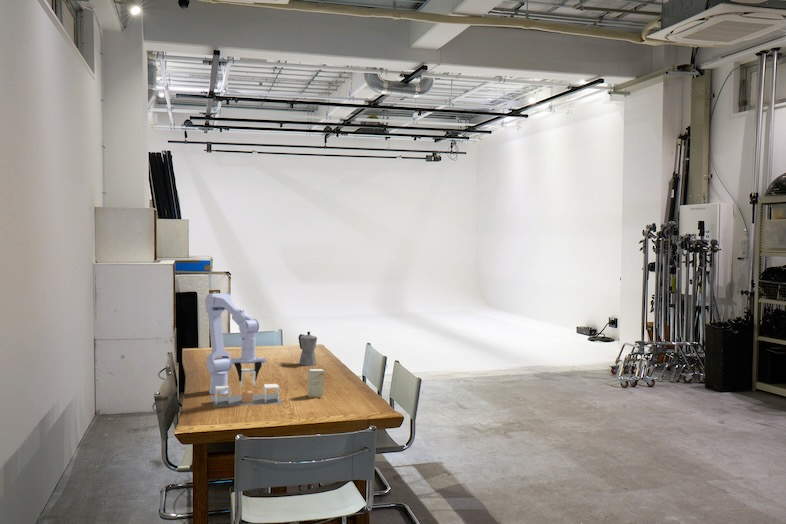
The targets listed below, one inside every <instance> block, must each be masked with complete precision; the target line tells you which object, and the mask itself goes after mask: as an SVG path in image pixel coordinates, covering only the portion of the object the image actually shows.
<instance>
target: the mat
mask: <svg viewBox="0 0 786 524" xmlns="http://www.w3.org/2000/svg"><path fill="white" fill-rule="evenodd" d="M263 395H264V393H260V394H259V393H258V394H253V402H250V403H243V402H242V394H241V395H240V394H239V395H237V394H236V395H230V404H229V402H228V395H219V396H218V395H217V405H216V403H215V395H214V396H213V395H212V396H210V400H211V403H212V407H213V408H218V407H220V408H221V407H222V408H223V407H237V406H256V405H257V406H259V405H277V404H281V405H282V404H283V401H282V400H281V399H280V397H279V402H278V401H277V400H276V393H267V399H266V402H265V401H264V399H263Z"/></svg>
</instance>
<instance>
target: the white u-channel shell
mask: <svg viewBox="0 0 786 524" xmlns="http://www.w3.org/2000/svg"><path fill="white" fill-rule="evenodd" d="M251 373H252V385H253V387H256V381H255V377H256V371H255V368H241V381H239V384H240V387H241V388H243V386H244V385H243V381H244V374H251Z"/></svg>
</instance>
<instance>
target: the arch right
mask: <svg viewBox="0 0 786 524" xmlns="http://www.w3.org/2000/svg"><path fill="white" fill-rule="evenodd" d="M269 389H275V394H276V400H277V401H278V402H279V398H280V385H278V384H277V383H265V384H263V394H264V395H263V399H264V401H265V402H266V399H267V394H268V393H267V392H268V391H267V390H269Z"/></svg>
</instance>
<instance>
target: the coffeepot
mask: <svg viewBox="0 0 786 524" xmlns="http://www.w3.org/2000/svg"><path fill="white" fill-rule="evenodd" d="M306 332H307V334H302V333H301V334H299V335H298V343H299V344H298V345H299V349H300V350H301V353H300V359H299V365H300V366H303V365H305V366H306V367H310V365H313V366H316V365H317V360H316V359H317V358H316V353H315V349H316V347H317V346H316V345H317V340H318V337H317V336H315V335H311V331H306ZM315 364H316V365H315ZM305 366H304V367H305Z"/></svg>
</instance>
